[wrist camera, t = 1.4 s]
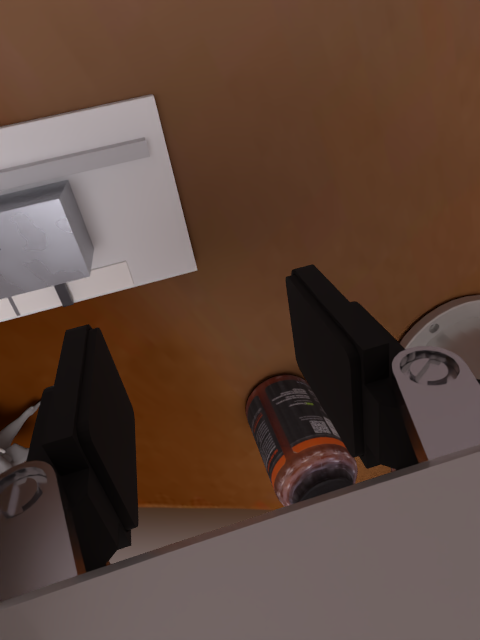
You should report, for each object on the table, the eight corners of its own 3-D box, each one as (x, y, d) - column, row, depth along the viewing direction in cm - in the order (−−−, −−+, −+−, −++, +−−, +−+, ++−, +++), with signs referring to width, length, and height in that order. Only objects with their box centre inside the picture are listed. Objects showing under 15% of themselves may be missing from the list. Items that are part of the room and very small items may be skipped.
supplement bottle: (253, 436, 38) (297, 559, 29) (235, 386, 35) (278, 506, 25) (317, 412, 39) (381, 526, 29) (305, 361, 35) (373, 470, 26)
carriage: (68, 179, 23) (59, 198, 20) (110, 290, 27) (108, 322, 24) (-28, 201, 23) (-54, 225, 19) (27, 312, 26) (14, 347, 23)
